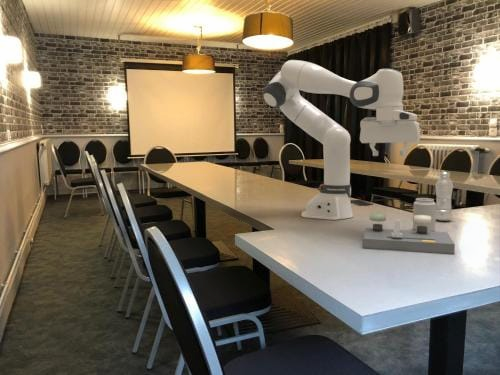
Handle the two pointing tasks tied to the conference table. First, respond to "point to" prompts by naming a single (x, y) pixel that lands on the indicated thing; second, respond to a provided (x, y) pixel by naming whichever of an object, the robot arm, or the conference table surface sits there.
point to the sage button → (378, 217)
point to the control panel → (408, 240)
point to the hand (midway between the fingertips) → (388, 155)
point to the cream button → (422, 219)
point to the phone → (360, 202)
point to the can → (425, 212)
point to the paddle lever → (397, 229)
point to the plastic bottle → (443, 197)
